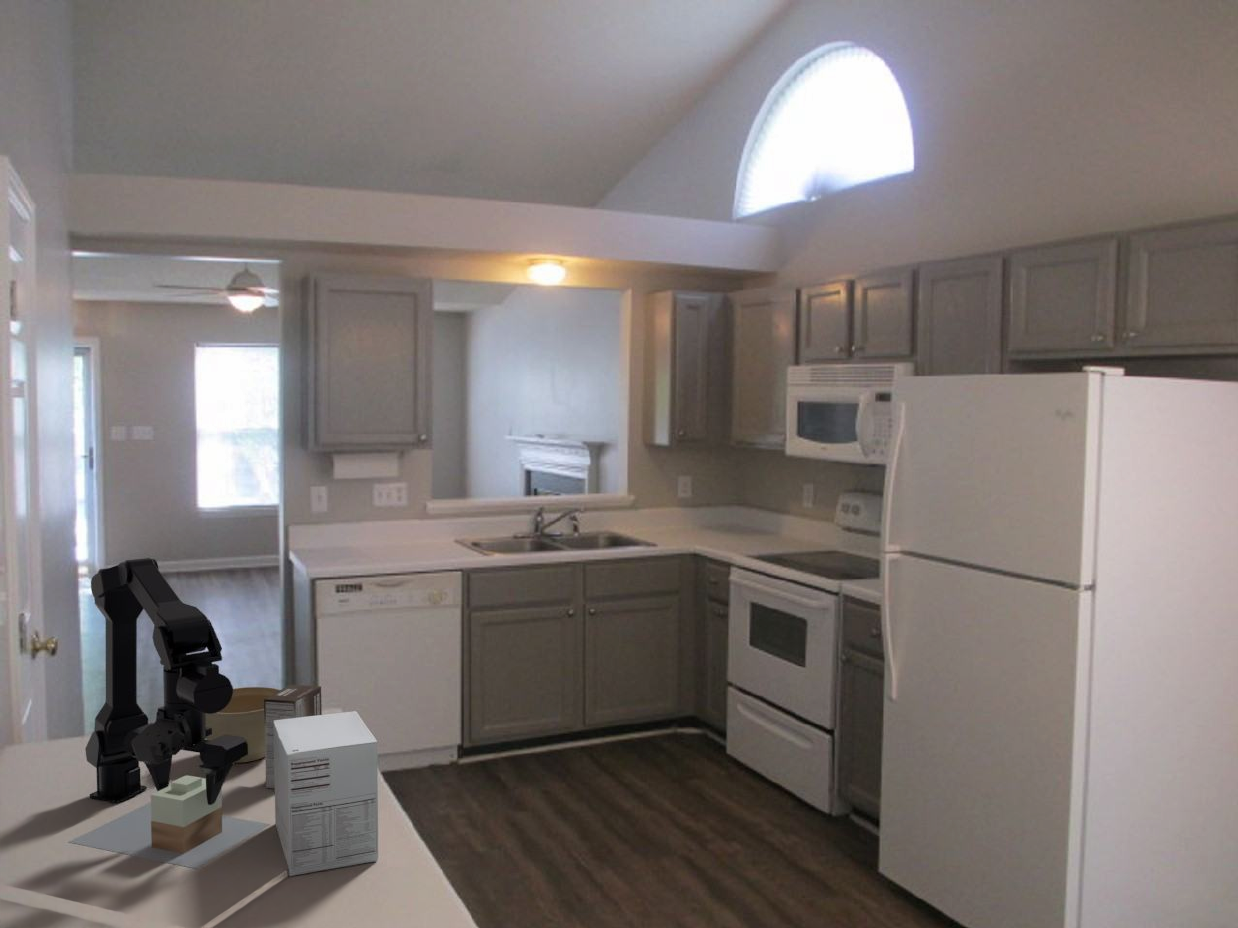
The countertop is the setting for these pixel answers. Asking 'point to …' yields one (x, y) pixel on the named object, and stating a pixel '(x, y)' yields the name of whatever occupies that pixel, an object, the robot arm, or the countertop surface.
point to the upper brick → (182, 802)
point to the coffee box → (287, 716)
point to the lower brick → (186, 833)
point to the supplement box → (326, 791)
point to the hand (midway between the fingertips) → (186, 799)
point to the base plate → (135, 840)
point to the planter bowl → (243, 719)
